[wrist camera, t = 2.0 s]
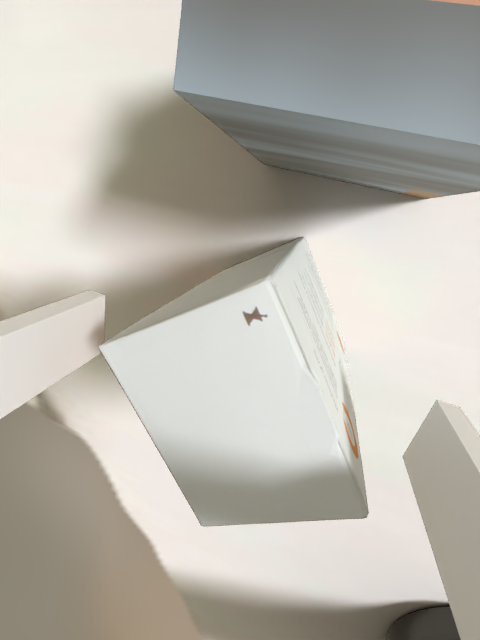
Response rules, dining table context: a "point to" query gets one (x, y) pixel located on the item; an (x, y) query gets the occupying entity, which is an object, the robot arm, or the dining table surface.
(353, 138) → the book rack
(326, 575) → the dining table surface
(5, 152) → the dining table surface
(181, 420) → the small box
